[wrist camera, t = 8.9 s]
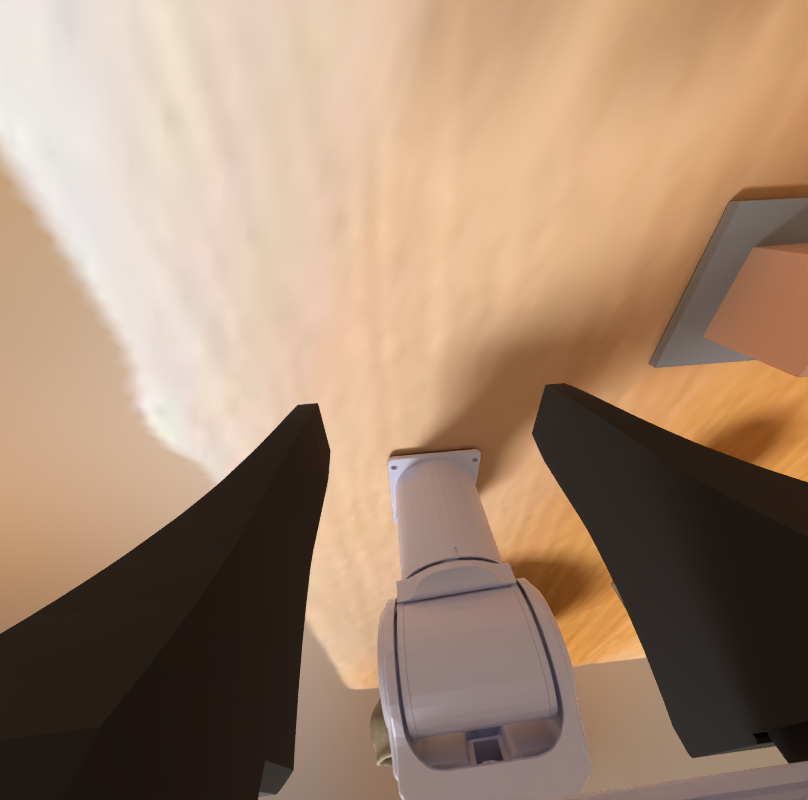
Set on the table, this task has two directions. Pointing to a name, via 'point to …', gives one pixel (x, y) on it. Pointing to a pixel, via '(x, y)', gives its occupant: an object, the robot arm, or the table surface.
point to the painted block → (768, 309)
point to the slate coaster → (726, 276)
